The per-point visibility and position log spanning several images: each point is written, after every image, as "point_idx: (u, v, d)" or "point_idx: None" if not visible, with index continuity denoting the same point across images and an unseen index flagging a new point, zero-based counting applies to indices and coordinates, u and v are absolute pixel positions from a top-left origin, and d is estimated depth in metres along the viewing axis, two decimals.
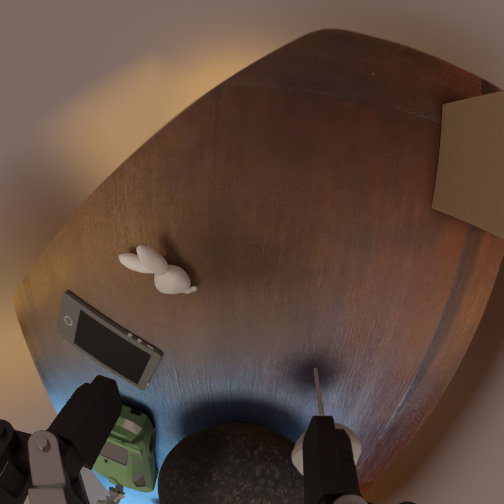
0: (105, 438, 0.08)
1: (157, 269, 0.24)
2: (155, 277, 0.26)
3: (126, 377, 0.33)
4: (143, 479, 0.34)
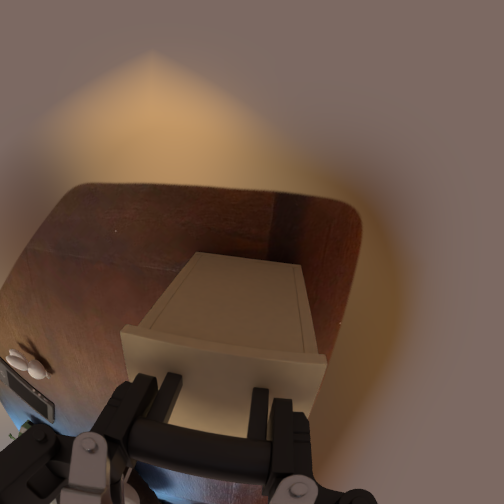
0: None
1: (20, 368, 0.27)
2: None
3: (41, 414, 0.37)
4: None
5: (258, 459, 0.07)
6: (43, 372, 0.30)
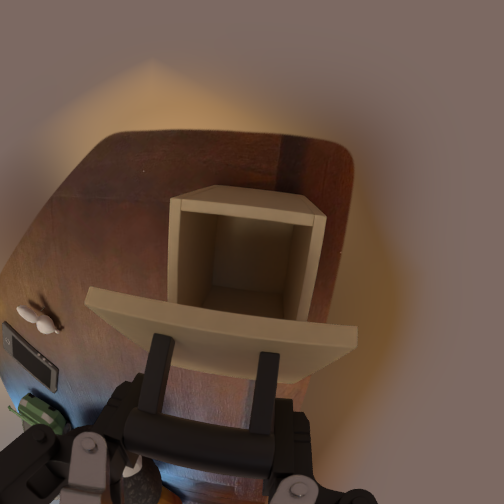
0: None
1: (30, 320, 0.30)
2: None
3: (43, 383, 0.39)
4: None
5: (258, 468, 0.07)
6: (52, 326, 0.33)
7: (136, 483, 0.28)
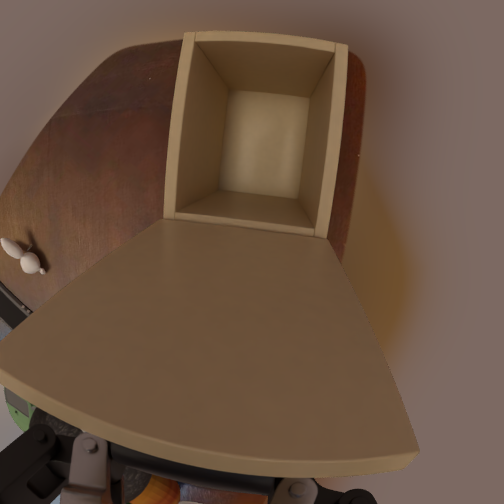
0: None
1: (13, 254, 0.26)
2: None
3: None
4: None
5: (254, 493, 0.06)
6: (37, 263, 0.29)
7: None
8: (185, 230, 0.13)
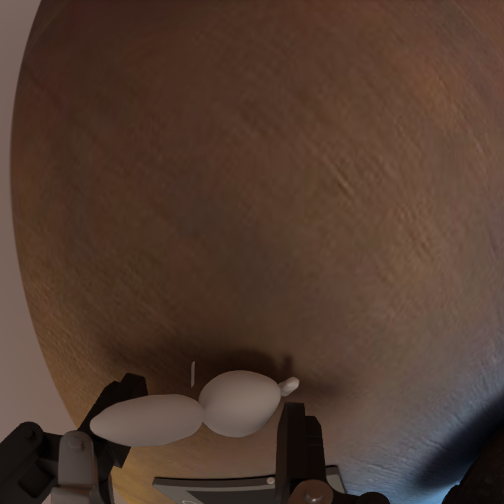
0: None
1: (174, 432, 0.07)
2: None
3: None
4: None
5: None
6: (265, 381, 0.10)
7: None
8: None
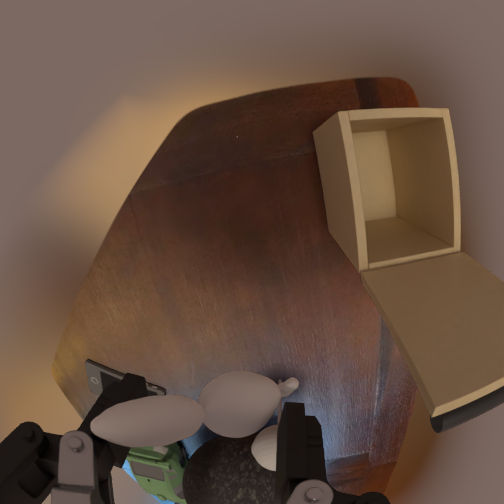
0: None
1: (174, 433, 0.07)
2: None
3: None
4: None
5: (499, 404, 0.09)
6: (265, 382, 0.10)
7: None
8: (393, 276, 0.17)
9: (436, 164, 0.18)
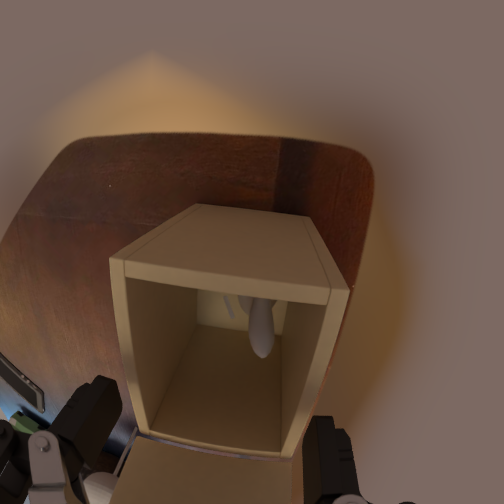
0: (105, 438, 0.08)
1: None
2: None
3: (30, 403, 0.34)
4: None
5: None
6: None
7: None
8: (160, 464, 0.11)
9: (303, 349, 0.13)
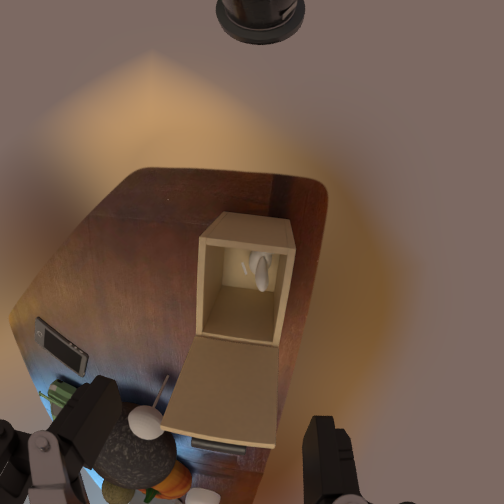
0: (105, 438, 0.08)
1: None
2: None
3: (72, 368, 0.50)
4: None
5: (240, 454, 0.21)
6: None
7: (157, 448, 0.40)
8: (209, 347, 0.28)
9: (281, 281, 0.29)
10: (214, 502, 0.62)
